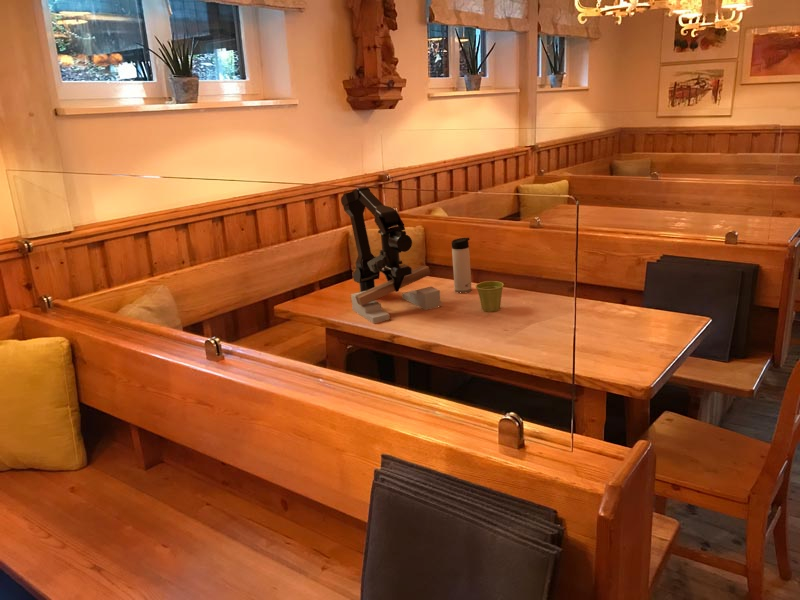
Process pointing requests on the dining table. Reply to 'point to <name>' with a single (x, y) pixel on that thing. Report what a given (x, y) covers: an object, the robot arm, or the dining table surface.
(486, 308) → the plant pot
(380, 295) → the walnut bar
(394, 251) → the robot arm
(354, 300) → the notch rack
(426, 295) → the notch rack
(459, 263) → the travel mug
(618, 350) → the dining table surface
